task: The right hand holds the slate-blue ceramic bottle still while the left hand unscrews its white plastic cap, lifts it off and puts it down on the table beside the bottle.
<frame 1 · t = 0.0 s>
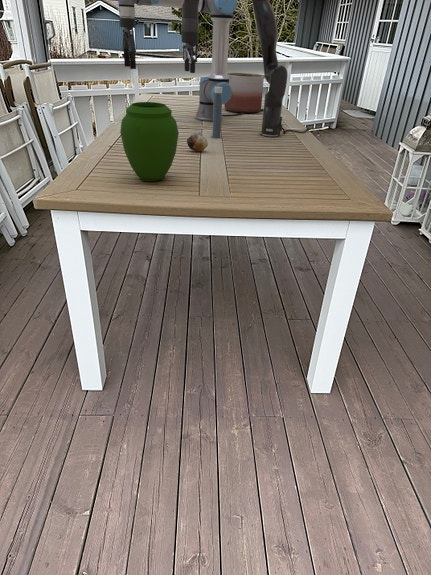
left hand: (130, 67, 208), 28 cm above the table, tool pointing down, fingers open, 13 cm apart
right hand: (189, 72, 188), 29 cm above the table, tool pointing down, fingers open, 8 cm apart
cap: (218, 87, 196), point 23 cm above the table, screwed on, not yet turned
bottle: (216, 137, 208), on the table
planter: (242, 110, 281), on the table
vase: (151, 178, 146), on the table
seashell: (197, 151, 182), on the table
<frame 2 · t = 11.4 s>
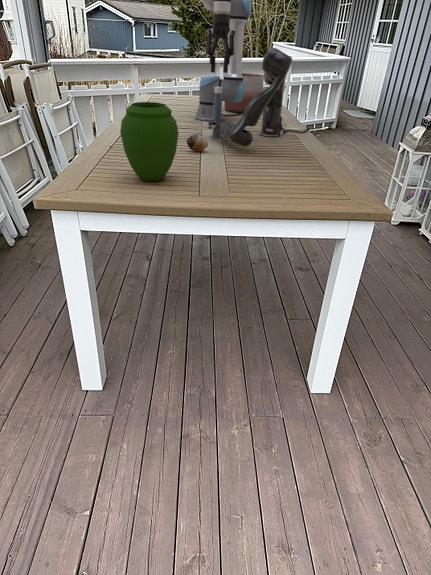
left hand: (219, 72, 193), 29 cm above the table, tool pointing down, fingers open, 6 cm apart
right hand: (215, 121, 207), 7 cm above the table, tool horizontal, fingers closed on bottle, 4 cm apart
bottle: (216, 137, 208), on the table, touching right hand
everything else where it was.
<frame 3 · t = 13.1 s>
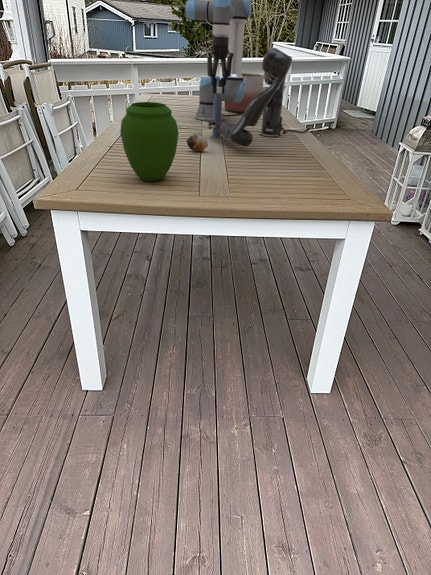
left hand: (218, 92, 198), 21 cm above the table, tool pointing down, fingers closed on cap, 4 cm apart
right hand: (215, 122, 207), 7 cm above the table, tool horizontal, fingers closed on bottle, 4 cm apart
cap: (218, 87, 196), point 23 cm above the table, screwed on, not yet turned, touching left hand
bottle: (216, 137, 208), on the table, touching right hand
everything else where it was.
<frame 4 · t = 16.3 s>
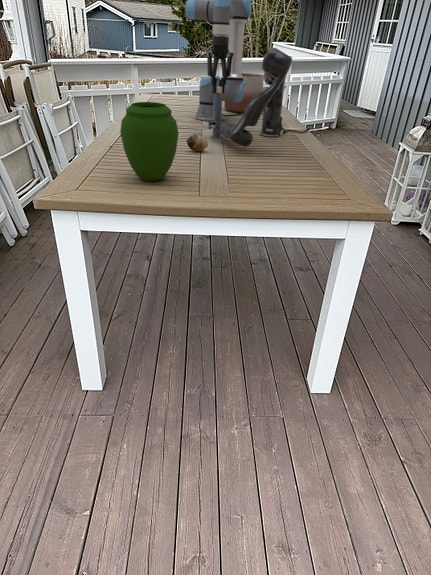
left hand: (218, 92, 197), 21 cm above the table, tool pointing down, fingers closed on cap, 4 cm apart
right hand: (215, 122, 207), 7 cm above the table, tool horizontal, fingers closed on bottle, 4 cm apart
cap: (218, 87, 196), point 23 cm above the table, turned 92° so far, risen 0.1 cm, still on its thread, touching left hand
bottle: (216, 137, 208), on the table, touching right hand
everything else where it was.
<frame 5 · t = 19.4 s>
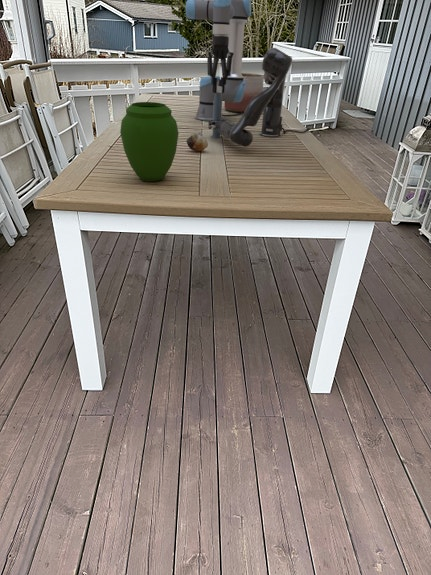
left hand: (218, 92, 197), 21 cm above the table, tool pointing down, fingers closed on cap, 4 cm apart
right hand: (215, 122, 207), 7 cm above the table, tool horizontal, fingers closed on bottle, 4 cm apart
cap: (218, 87, 196), point 23 cm above the table, turned 183° so far, risen 0.2 cm, still on its thread, touching left hand
bottle: (216, 137, 208), on the table, touching right hand
everything else where it was.
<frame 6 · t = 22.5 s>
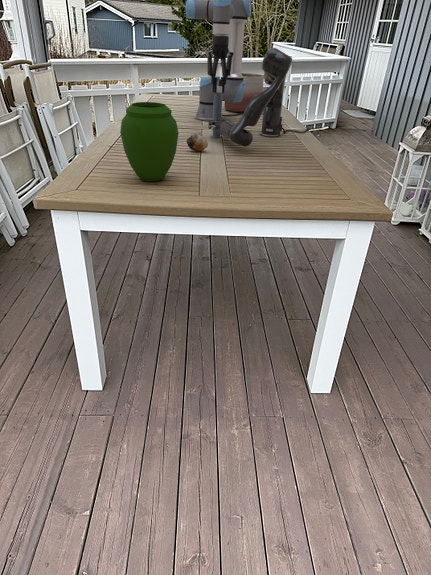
left hand: (218, 92, 197), 21 cm above the table, tool pointing down, fingers closed on cap, 4 cm apart
right hand: (215, 122, 207), 7 cm above the table, tool horizontal, fingers closed on bottle, 4 cm apart
cap: (218, 87, 196), point 23 cm above the table, turned 275° so far, risen 0.3 cm, still on its thread, touching left hand
bottle: (216, 137, 208), on the table, touching right hand
everything else where it was.
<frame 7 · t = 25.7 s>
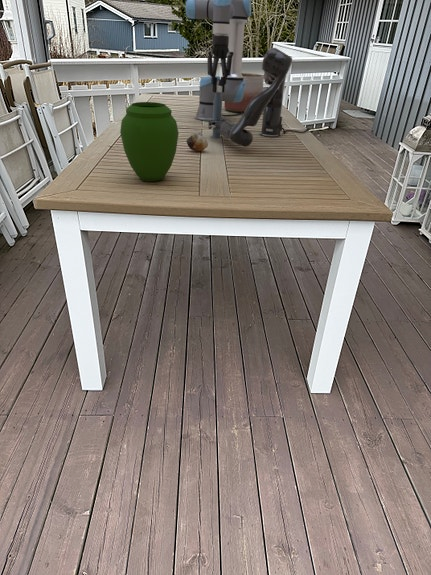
left hand: (218, 91, 197), 21 cm above the table, tool pointing down, fingers closed on cap, 4 cm apart
right hand: (215, 122, 207), 7 cm above the table, tool horizontal, fingers closed on bottle, 4 cm apart
cap: (218, 86, 196), point 23 cm above the table, turned 366° so far, risen 0.4 cm, still on its thread, touching left hand
bottle: (216, 137, 208), on the table, touching right hand
everything else where it was.
when the left hand's fingers open (2 cm above the table, at t = 33.0 s): cap drops 2 cm, point 2 cm above the table.
when the right hand's fingers open (7 cm above the table, at t = 34.3 s): bottle stays where it is, on the table.
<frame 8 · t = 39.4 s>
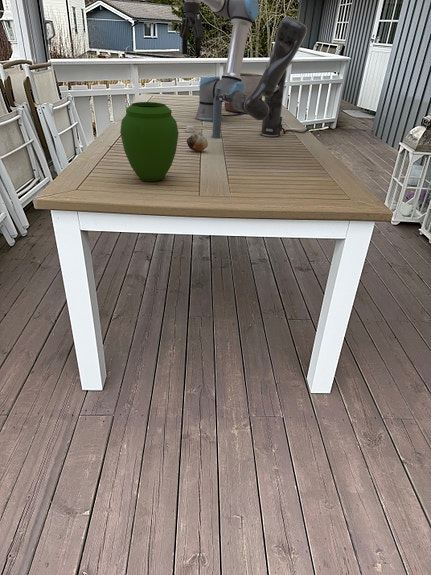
left hand: (191, 55, 198), 35 cm above the table, tool pointing down, fingers open, 13 cm apart
right hand: (226, 95, 189), 21 cm above the table, tool horizontal, fingers open, 8 cm apart
cap: (190, 127, 216), point 2 cm above the table, off its thread
bottle: (216, 137, 208), on the table
everything else where it was.
at the end: cap came off its thread; cap point 2.1 cm above the table; the left hand is holding nothing; the right hand is holding nothing; bottle tilted 0°; bottle moved 0.0 cm from its start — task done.
